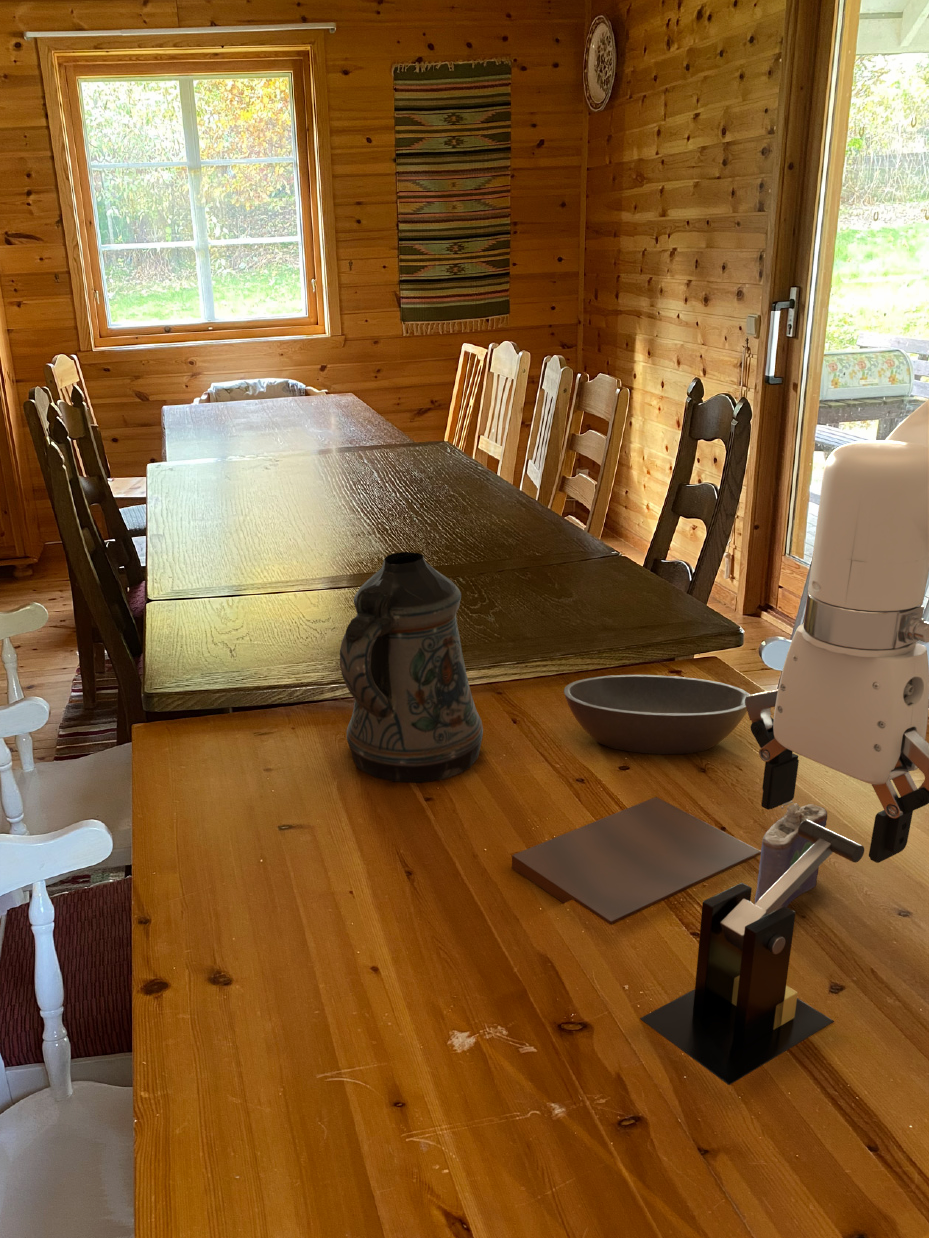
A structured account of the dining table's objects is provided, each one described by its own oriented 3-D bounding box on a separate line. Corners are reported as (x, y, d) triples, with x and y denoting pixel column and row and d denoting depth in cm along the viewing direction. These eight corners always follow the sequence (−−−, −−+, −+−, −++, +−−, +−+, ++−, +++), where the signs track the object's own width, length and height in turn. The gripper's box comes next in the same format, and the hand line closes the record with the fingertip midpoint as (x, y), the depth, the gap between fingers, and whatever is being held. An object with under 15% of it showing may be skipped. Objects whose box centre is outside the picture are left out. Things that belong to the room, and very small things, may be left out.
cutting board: (655, 808, 120) (656, 796, 119) (759, 864, 109) (761, 851, 108) (511, 868, 110) (511, 855, 110) (610, 935, 99) (611, 921, 99)
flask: (772, 934, 98) (784, 829, 94) (742, 920, 100) (753, 817, 96) (821, 892, 104) (835, 791, 100) (792, 880, 106) (805, 781, 102)
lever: (811, 831, 89) (806, 811, 87) (867, 858, 85) (862, 837, 83) (711, 932, 85) (704, 913, 84) (764, 965, 81) (758, 945, 80)
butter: (743, 985, 90) (746, 960, 89) (794, 1018, 86) (798, 992, 85) (721, 997, 89) (724, 971, 88) (772, 1031, 85) (775, 1005, 84)
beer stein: (485, 725, 141) (484, 535, 131) (478, 799, 124) (476, 586, 114) (358, 723, 143) (348, 536, 134) (333, 795, 126) (319, 586, 116)
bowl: (565, 716, 143) (566, 671, 140) (743, 724, 138) (747, 678, 136) (559, 758, 132) (560, 710, 129) (752, 768, 127) (757, 719, 125)
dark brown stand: (741, 974, 93) (754, 855, 89) (832, 1033, 86) (852, 907, 82) (638, 1030, 88) (646, 905, 83) (727, 1098, 81) (742, 966, 76)
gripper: (1010, 642, 74) (963, 862, 80) (793, 581, 87) (769, 774, 94) (943, 667, 70) (901, 896, 77) (728, 600, 83) (708, 799, 90)
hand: (828, 828), depth 85 cm, fingers open, 9 cm apart
